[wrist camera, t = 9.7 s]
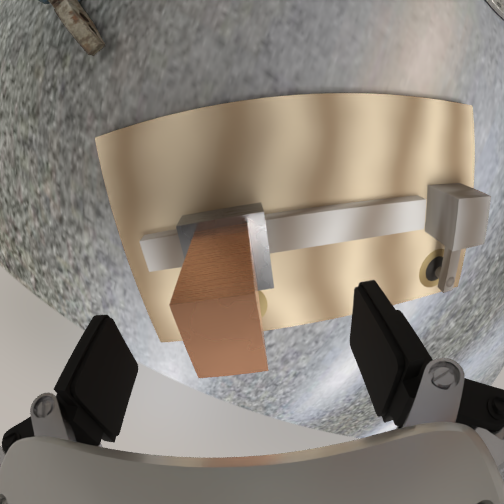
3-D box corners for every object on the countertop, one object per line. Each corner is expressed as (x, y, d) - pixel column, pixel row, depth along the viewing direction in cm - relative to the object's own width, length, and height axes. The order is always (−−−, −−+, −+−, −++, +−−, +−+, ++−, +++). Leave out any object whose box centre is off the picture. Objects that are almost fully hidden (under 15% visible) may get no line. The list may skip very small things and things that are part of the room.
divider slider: (260, 198, 18) (283, 276, 9) (275, 315, 22) (296, 421, 13) (184, 211, 18) (138, 296, 9) (214, 323, 22) (206, 430, 13)
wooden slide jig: (461, 105, 17) (504, 108, 12) (450, 279, 25) (479, 307, 20) (103, 136, 17) (64, 143, 12) (164, 331, 25) (151, 374, 20)
